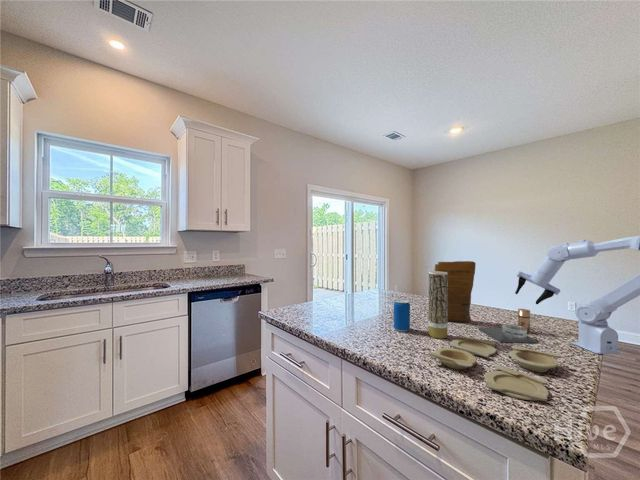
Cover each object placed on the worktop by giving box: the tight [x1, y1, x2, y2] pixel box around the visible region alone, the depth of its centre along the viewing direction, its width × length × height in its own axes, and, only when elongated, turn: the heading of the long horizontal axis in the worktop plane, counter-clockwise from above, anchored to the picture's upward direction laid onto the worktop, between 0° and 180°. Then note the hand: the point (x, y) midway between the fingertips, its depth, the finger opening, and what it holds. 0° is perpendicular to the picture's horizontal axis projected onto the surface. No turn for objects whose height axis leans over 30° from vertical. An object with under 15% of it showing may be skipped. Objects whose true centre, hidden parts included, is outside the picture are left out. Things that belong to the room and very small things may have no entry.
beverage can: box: [393, 299, 411, 333], centre depth 111 cm, size 6×6×12 cm
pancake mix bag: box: [433, 260, 477, 323], centre depth 124 cm, size 7×19×28 cm, turn 84°
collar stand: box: [477, 323, 537, 344], centre depth 105 cm, size 14×13×4 cm
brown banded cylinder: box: [517, 308, 531, 334], centre depth 110 cm, size 4×4×9 cm
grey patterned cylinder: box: [427, 270, 448, 339], centre depth 104 cm, size 7×7×25 cm
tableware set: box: [427, 335, 562, 402], centre depth 81 cm, size 35×29×4 cm
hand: (526, 298), depth 113 cm, fingers open, 7 cm apart
